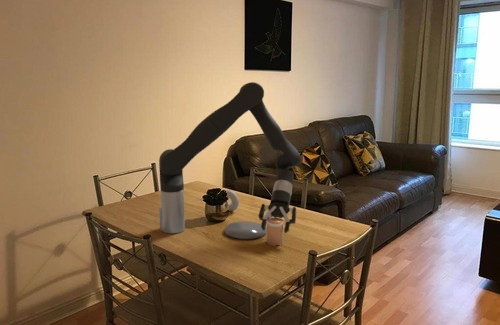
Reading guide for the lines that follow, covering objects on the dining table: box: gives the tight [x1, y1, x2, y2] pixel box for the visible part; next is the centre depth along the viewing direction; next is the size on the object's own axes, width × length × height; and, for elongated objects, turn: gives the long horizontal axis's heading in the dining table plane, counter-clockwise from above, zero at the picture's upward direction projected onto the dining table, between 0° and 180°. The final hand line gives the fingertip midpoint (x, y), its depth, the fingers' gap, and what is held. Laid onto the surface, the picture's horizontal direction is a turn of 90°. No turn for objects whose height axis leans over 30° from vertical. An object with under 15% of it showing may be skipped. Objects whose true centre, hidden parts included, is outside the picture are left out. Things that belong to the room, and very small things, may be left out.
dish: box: [224, 220, 267, 240], centre depth 171 cm, size 17×17×1 cm
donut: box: [225, 189, 240, 212], centre depth 195 cm, size 10×4×10 cm, turn 50°
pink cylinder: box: [266, 217, 284, 247], centre depth 159 cm, size 6×6×9 cm
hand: (274, 231), depth 158 cm, fingers open, 8 cm apart
